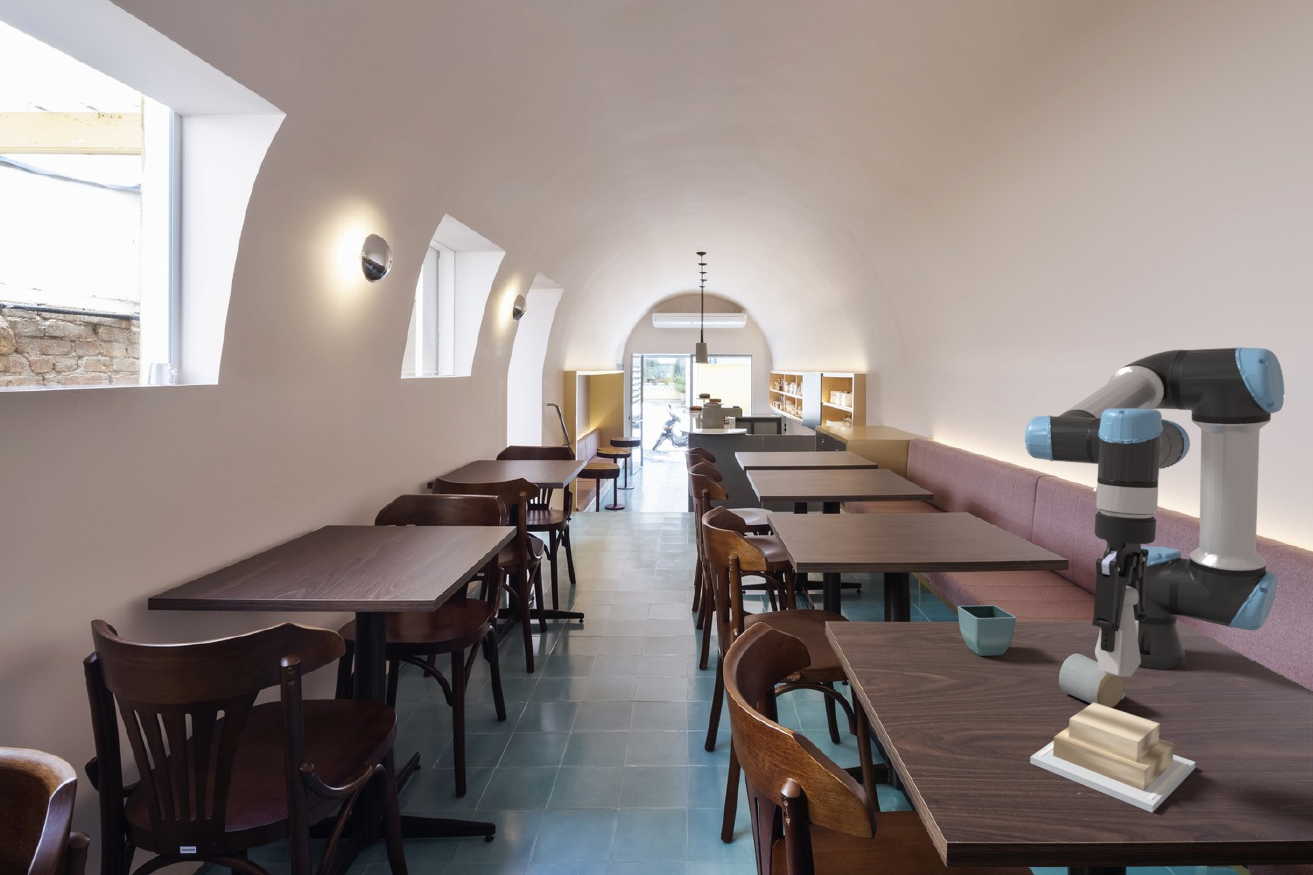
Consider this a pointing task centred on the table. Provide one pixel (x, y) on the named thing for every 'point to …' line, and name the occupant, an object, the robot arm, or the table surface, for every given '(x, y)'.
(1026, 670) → the table surface
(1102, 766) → the birch plinth
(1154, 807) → the board
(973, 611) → the flower pot
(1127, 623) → the salt shaker
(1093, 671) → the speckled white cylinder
